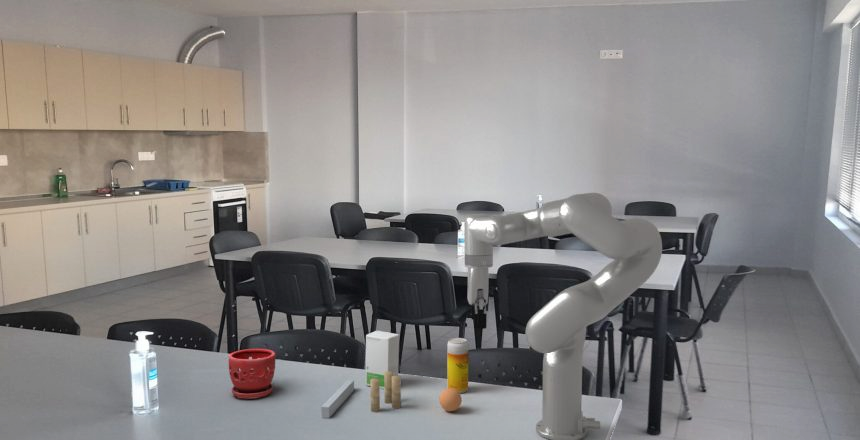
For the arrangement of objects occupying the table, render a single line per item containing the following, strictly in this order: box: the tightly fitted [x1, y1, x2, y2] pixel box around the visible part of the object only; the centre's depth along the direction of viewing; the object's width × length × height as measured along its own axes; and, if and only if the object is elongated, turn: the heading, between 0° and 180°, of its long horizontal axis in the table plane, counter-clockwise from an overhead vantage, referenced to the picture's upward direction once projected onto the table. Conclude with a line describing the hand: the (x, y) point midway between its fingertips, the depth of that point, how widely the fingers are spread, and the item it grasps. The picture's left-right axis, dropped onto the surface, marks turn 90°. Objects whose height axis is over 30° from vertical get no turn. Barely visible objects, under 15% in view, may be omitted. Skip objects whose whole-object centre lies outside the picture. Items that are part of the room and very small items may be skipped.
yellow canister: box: [446, 337, 469, 394], centre depth 202 cm, size 6×6×15 cm
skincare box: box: [364, 330, 400, 390], centre depth 208 cm, size 8×7×16 cm
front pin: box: [391, 374, 402, 410], centre depth 190 cm, size 2×2×8 cm
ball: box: [438, 388, 463, 412], centre depth 187 cm, size 6×6×6 cm
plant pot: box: [228, 348, 276, 400], centre depth 201 cm, size 13×13×12 cm
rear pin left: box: [370, 378, 381, 413], centre depth 187 cm, size 2×2×8 cm
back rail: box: [321, 379, 355, 419], centre depth 193 cm, size 2×22×3 cm, turn 169°
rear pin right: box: [384, 371, 393, 404], centre depth 194 cm, size 2×2×8 cm
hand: (478, 323), depth 186 cm, fingers open, 9 cm apart
